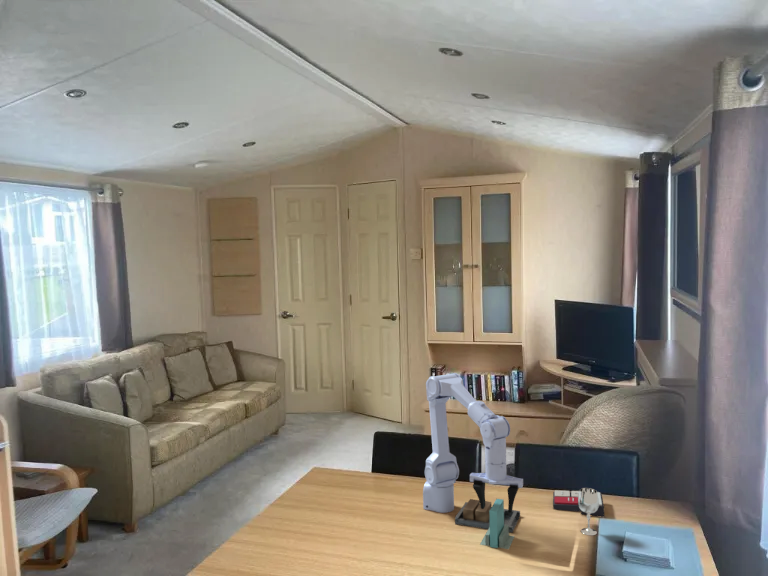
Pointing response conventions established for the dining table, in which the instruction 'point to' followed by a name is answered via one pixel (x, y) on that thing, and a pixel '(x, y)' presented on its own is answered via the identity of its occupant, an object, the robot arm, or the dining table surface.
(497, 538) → the teal flat block
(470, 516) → the offcut
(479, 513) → the offcut
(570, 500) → the black red box
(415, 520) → the dining table surface
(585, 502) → the wineglass
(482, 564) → the dining table surface
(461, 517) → the rack
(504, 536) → the stand
